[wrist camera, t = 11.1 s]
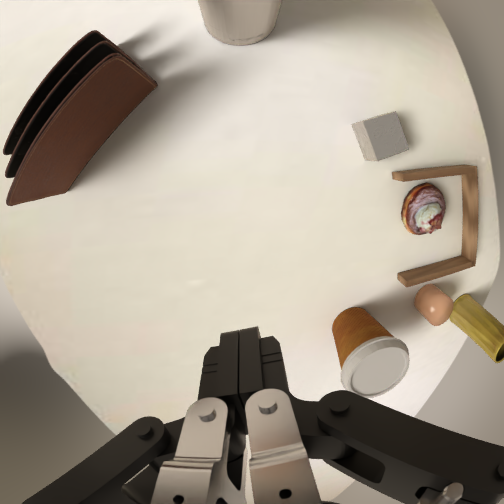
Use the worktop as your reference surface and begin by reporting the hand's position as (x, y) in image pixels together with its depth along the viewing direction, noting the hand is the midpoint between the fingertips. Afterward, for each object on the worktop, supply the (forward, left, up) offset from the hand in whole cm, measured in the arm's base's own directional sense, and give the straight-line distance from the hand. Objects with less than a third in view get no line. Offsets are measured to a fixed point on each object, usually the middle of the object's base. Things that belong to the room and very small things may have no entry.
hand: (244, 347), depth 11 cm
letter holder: (-18, -18, -27) cm, 37 cm away
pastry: (+3, +25, -27) cm, 37 cm away
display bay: (+6, +28, -26) cm, 39 cm away
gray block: (-7, +19, -27) cm, 33 cm away
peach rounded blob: (+19, +27, -27) cm, 42 cm away
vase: (+24, +36, -27) cm, 50 cm away
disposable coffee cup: (+20, +13, -27) cm, 35 cm away
